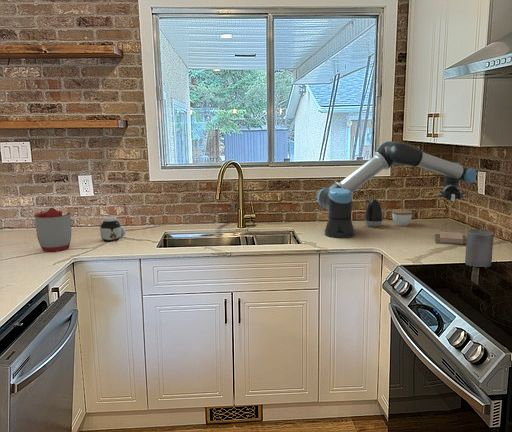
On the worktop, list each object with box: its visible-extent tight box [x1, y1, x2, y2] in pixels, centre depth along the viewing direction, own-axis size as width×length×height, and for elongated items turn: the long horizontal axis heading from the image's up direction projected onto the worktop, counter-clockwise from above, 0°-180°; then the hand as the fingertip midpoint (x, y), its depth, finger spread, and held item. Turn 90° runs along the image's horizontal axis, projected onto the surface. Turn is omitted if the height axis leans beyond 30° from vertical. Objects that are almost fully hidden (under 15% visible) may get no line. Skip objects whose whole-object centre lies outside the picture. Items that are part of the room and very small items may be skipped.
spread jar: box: [99, 215, 127, 243], centre depth 242 cm, size 12×11×12 cm
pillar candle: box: [464, 228, 495, 269], centre depth 190 cm, size 10×10×15 cm
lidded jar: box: [391, 208, 413, 227], centre depth 267 cm, size 11×11×9 cm
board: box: [434, 233, 467, 246], centre depth 232 cm, size 18×14×1 cm
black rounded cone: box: [363, 198, 384, 228], centre depth 264 cm, size 10×10×15 cm
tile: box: [439, 231, 463, 244], centre depth 230 cm, size 2×10×13 cm
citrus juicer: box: [33, 207, 73, 253], centre depth 223 cm, size 16×17×20 cm
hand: (453, 198), depth 239 cm, fingers closed
